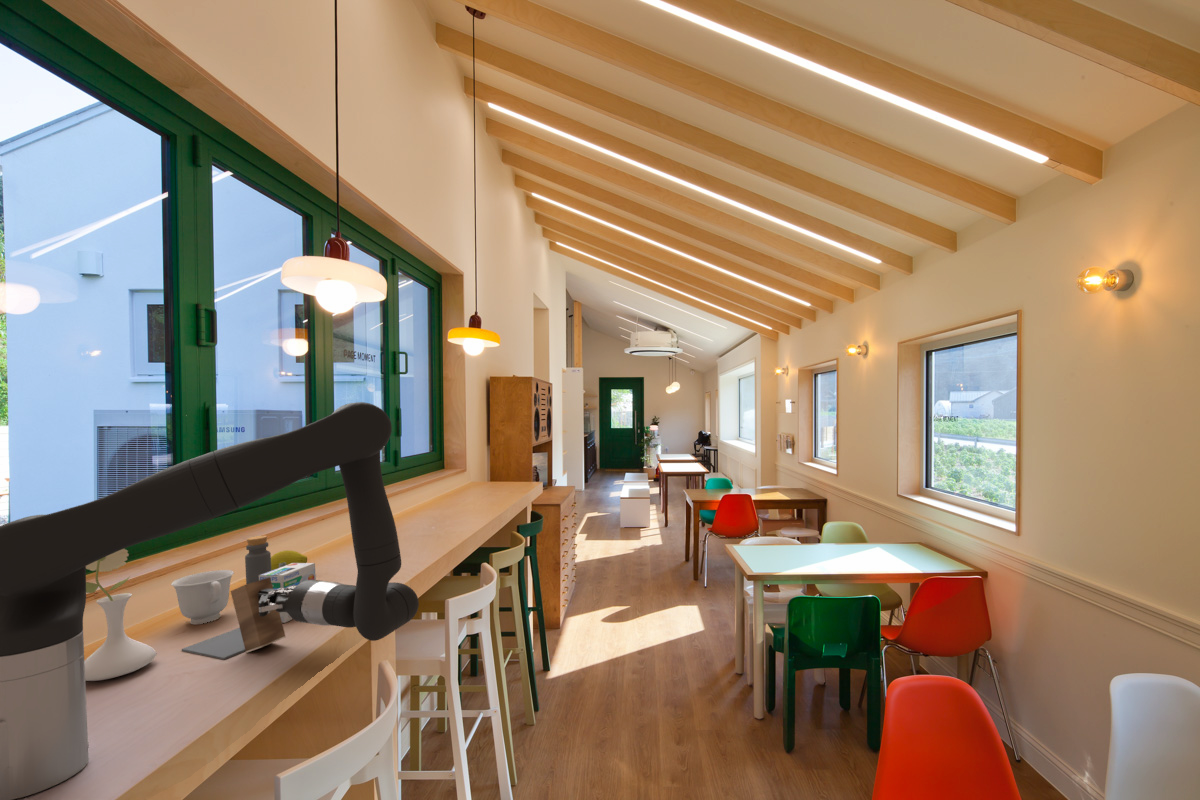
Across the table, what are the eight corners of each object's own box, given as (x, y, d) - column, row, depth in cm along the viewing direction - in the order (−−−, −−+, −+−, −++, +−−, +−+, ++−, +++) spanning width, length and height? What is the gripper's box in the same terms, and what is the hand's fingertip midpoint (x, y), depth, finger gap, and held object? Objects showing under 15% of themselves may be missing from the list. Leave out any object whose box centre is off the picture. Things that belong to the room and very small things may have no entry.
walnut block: (261, 647, 106) (245, 584, 108) (246, 653, 108) (230, 591, 110) (285, 637, 111) (269, 577, 113) (270, 642, 113) (255, 583, 115)
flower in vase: (172, 657, 109) (166, 528, 109) (120, 685, 97) (113, 542, 98) (107, 661, 109) (101, 533, 110) (47, 690, 98) (41, 546, 98)
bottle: (248, 593, 150) (245, 537, 151) (273, 588, 153) (270, 533, 153) (245, 598, 145) (242, 541, 145) (271, 594, 147) (268, 537, 148)
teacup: (187, 636, 120) (185, 589, 120) (165, 624, 129) (163, 580, 129) (249, 617, 129) (247, 574, 130) (225, 607, 138) (223, 567, 139)
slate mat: (283, 635, 116) (283, 633, 116) (224, 659, 106) (224, 657, 106) (242, 628, 122) (242, 626, 123) (181, 650, 112) (181, 648, 112)
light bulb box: (285, 623, 124) (282, 575, 124) (259, 623, 125) (256, 575, 125) (318, 606, 134) (316, 561, 135) (294, 606, 136) (292, 562, 136)
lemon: (260, 583, 159) (259, 555, 159) (275, 575, 167) (274, 549, 167) (299, 580, 160) (297, 552, 160) (312, 573, 167) (310, 546, 168)
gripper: (350, 571, 109) (292, 566, 116) (287, 593, 97) (226, 586, 104) (353, 610, 108) (294, 602, 116) (289, 637, 96) (228, 626, 104)
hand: (262, 594), depth 110 cm, fingers closed
